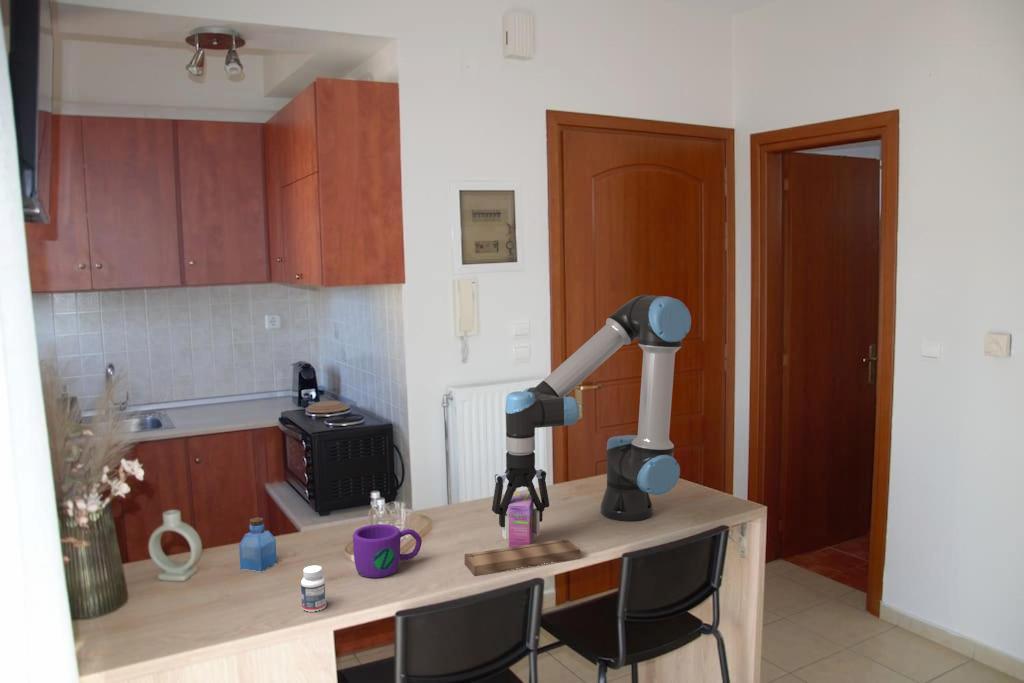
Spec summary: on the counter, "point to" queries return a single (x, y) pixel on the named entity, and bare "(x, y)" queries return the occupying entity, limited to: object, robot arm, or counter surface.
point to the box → (520, 520)
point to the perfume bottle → (257, 547)
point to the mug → (380, 549)
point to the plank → (521, 556)
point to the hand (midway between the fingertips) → (521, 535)
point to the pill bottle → (313, 589)
